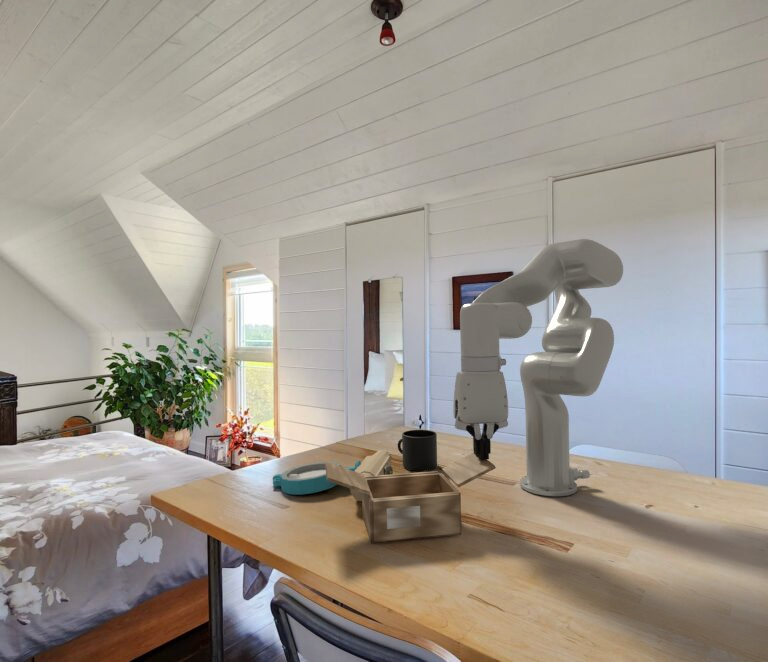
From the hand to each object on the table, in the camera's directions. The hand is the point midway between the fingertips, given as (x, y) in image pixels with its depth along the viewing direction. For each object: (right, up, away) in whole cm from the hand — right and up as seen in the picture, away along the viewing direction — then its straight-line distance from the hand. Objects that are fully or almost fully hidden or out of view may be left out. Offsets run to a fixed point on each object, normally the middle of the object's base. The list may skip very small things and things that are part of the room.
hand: (482, 457), depth 91 cm
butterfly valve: (-32, -13, +20) cm, 40 cm away
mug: (-11, -12, +36) cm, 39 cm away
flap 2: (-7, -4, -1) cm, 8 cm away
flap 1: (-23, -4, -4) cm, 23 cm away
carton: (-15, -12, -2) cm, 19 cm away
